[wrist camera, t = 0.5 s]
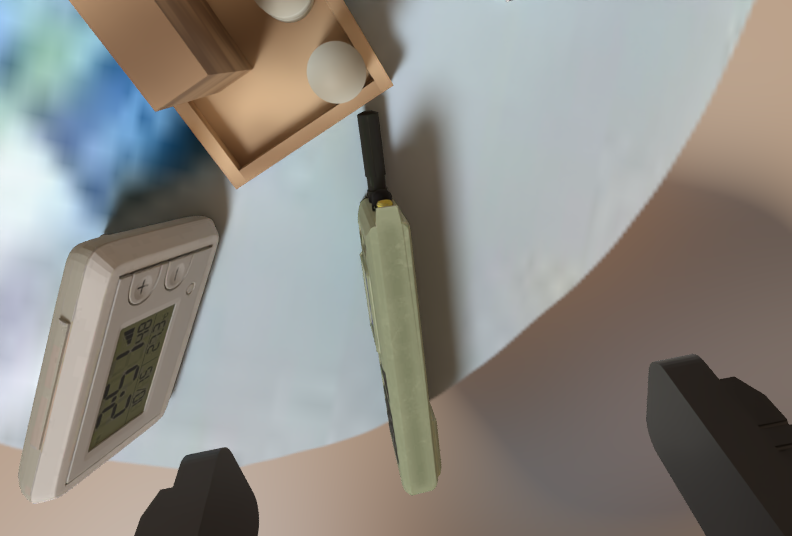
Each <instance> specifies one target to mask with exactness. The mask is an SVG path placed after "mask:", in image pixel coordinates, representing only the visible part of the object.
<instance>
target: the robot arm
mask: <svg viewBox="0 0 792 536" xmlns="http://www.w3.org/2000/svg"><path fill="white" fill-rule="evenodd" d="M646 416H647V417H646V421H647V428H648V432H649V436H650V439H651V442H652V444H653V446H654V449H655V451H656V452H657V454H658V456H659V458H660V459H661V461H662V462H663V464H664V466H665V468H666V469H667V471H668V473H669V474H670V476H671V478H672V479H673V481H674V483H675V484H676V486H677V488H678V490H679V491H680V493H681V494H682V496H683V498H684V500H685V501H686V503H687V505H688V506H689V508H690V510H691V511H692V513H693V515H694V516H695V518H696V520H697V521H698V523H699V525H700V526H701V528H702V530H703V531H704V533H705V535H706V536H792V425H789V424H788V422H787V419H786V418H785V417H784V415H783V414H782V413H781V412H780V411H779V410H778V409H777V408H776V407H775V406H774V405H773V403H772V402H771V401H770V400H769V399H768V398H767V397H766V396H765V395H764V394H762V393H761V392H759V391H757V390H756V389H754V388H752V387H751V386H749V385H747V384H746V383H744V382H743V381H741V380H739V379H737V378H736V377H730V378H725V379H720V380H719V379H718V378H717V376H716V375H715V374H714V373H713V371H712V370H711V369H710V368H709V367H708V365H707V364H706V363H705V362H704V361H703V360H702V359H701V358H700V357H699V356H698V355H695V354H691V355H686V356H681V357H676V358H671V359H666V360H661V361H656V362H652V363H651V364H650V367H649V377H648V396H647V415H646ZM258 529H259V512H258V505H257V501H256V498H255V496H254V493H253V491H252V489H251V488H250V486H249V484H248V482H247V480H246V479H245V476H244V475H243V473H242V471H241V469H240V467H239V465H238V463H237V462H236V460H235V458H234V456H233V454H232V452H231V451H230V450H229V449H228V448H226V447H224V448H219V449H214V450H209V451H204V452H199V453H194V454H189V455H186V456H185V457H184V458H183V460H182V461H181V464H180V467H179V470H178V473H177V476H176V479H175V483H174V486H173V487H172V488H167V489H162V490H160V491H159V493H158V494H157V496H156V497H155V498H154V500H153V501H152V502H151V504H150V505H149V507H148V508H147V509H146V511H145V512H144V514H143V515H142V516H141V518H140V521H139V524H138V527H137V529H136V532H135V535H134V536H258Z"/></svg>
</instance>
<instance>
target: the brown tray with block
mask: <svg viewBox="0 0 792 536" xmlns="http://www.w3.org/2000/svg"><path fill="white" fill-rule="evenodd" d="M69 1H70V2H71V4H72V5H73V6H74V7H75V9H76V10H77V11H78V13H79V14H80V15H81V17H82V18H83V19H84V20H85V22H86V23H87V24H88V26H89V27H90V28H91V29H92V31H93V32H94V33H95V35H96V36H97V37H98V38H99V40H100V41H101V42H102V44H103V45H104V46H105V47H106V49H107V50H108V51H109V53H110V54H111V55H112V56H113V58H114V59H115V60H116V62H117V63H118V64H119V65H120V67H121V68H122V69H123V71H124V72H125V73H126V74H127V76H128V77H129V78H130V80H131V81H132V82H133V83H134V85H135V86H136V87H137V89H138V90H139V91H140V92H141V94H142V95H143V96H144V98H145V99H146V100H147V102H148V103H149V104H150V105H151V107H152V108H153V109H154V111H155V112H156V111H159V110H162V109H166V108H169V107H172V106H173V107H174V108H175V109H176V111H177V112H178V113H179V115H180V116H181V117H182V119H183V120H184V121H185V123H186V124H187V125H188V127H189V128H190V129H191V130H192V132H193V133H194V134H195V136H196V137H197V138H198V140H199V141H200V142H201V144H202V145H203V146H204V148H205V149H206V150H207V151H208V153H209V154H210V155H211V157H212V158H213V159H214V161H215V162H216V163H217V165H218V166H219V167H220V169H221V170H222V171H223V173H224V174H225V175H226V176H227V178H228V179H229V180H230V182H231V183H232V184H233V186H234V187H235V188H236V189H238V188H239V187H241V186H242V185H244V184H245V183H247V182H248V181H250V180H251V179H253V178H254V177H256V176H257V175H259V174H260V173H262V172H263V171H265V170H266V169H268V168H269V167H271V166H272V165H274V164H275V163H277V162H278V161H280V160H281V159H283V158H284V157H286V156H287V155H289V154H290V153H292V152H293V151H295V150H297V149H298V148H300V147H301V146H303V145H304V144H306V143H307V142H309V141H310V140H312V139H313V138H315V137H316V136H318V135H319V134H321V133H322V132H324V131H325V130H327V129H328V128H330V127H331V126H333V125H334V124H336V123H337V122H339V121H340V120H342V119H343V118H345V117H346V116H348V115H349V114H351V113H352V112H354V111H355V110H357V109H358V108H360V107H361V106H363V105H364V104H366V103H367V102H369V101H370V100H372V99H373V98H375V97H377V96H378V95H380V94H381V93H383V92H384V91H386V90H387V89H389V88H390V87H392V86H393V84H392V82H391V80H390V79H389V77H388V75H387V73H386V72H385V70H384V68H383V67H382V65H381V63H380V62H379V60H378V58H377V56H376V55H375V53H374V51H373V50H372V48H371V46H370V45H369V43H368V41H367V40H366V38H365V36H364V34H363V33H362V31H361V29H360V28H359V26H358V24H357V23H356V21H355V19H354V17H353V16H352V14H351V12H350V11H349V9H348V7H347V6H346V4H345V2H344V0H69Z"/></svg>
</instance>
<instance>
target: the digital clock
mask: <svg viewBox="0 0 792 536" xmlns="http://www.w3.org/2000/svg"><path fill="white" fill-rule="evenodd" d="M218 241H219V235H218V233H217V230H216V227H215V225H214V223H213V221H212V219H210V218H207V217H204V216H190V217H184V218H180V219H175V220H171V221H167V222H162V223H158V224H154V225H149V226H145V227H141V228H137V229H132V230H128V231H124V232H119V233H115V234H111V235H107V234H103V235H101V236H100V237H99V238H95V239H91V240H88V241H85V242H83V243H80V244H78V245H77V246H75V247H74V248H73V249H72V250H71V252H70V253H69V256H68V258H67V261H66V265H65V269H64V273H63V277H62V281H61V285H60V289H59V293H58V297H57V301H56V305H55V310H54V314H53V319H52V323H51V327H50V332H49V336H48V341H47V345H46V349H45V354H44V358H43V363H42V367H41V372H40V376H39V380H38V385H37V389H36V394H35V398H34V402H33V407H32V411H31V416H30V420H29V424H28V429H27V433H26V438H25V442H24V447H23V452H22V457H21V461H20V466H19V473H18V478H19V485H20V489H21V491H22V493H23V495H24V496H25V497H26V498H27V500H29V501H30V502H32V503H33V504H36V503H41V502H45V501H49V500H52V499H56V498H58V497H60V496H62V495H63V494H65V493H66V492H68V491H69V490H70V489H72V488H73V487H74V486H76V485H77V484H78V483H79V482H81V481H82V480H83V479H85V478H86V477H87V476H89V475H90V474H91V473H92V472H93V471H95V470H96V469H97V468H99V467H100V466H101V465H102V464H104V463H105V462H106V461H108V460H109V459H110V458H112V457H113V456H114V455H115V454H117V453H118V452H119V451H121V450H122V449H123V448H124V447H126V446H127V445H128V444H130V443H131V442H132V441H133V440H135V439H136V438H137V437H139V436H140V435H141V434H142V433H144V432H145V431H146V430H147V429H149V428H150V427H151V426H153V425H154V424H155V423H156V422H157V421H158V420H159V419H160V418H161V417H162V416H163V414H164V412H165V410H166V408H167V405H168V402H169V399H170V396H171V393H172V390H173V387H174V383H175V380H176V377H177V374H178V371H179V367H180V364H181V361H182V358H183V355H184V352H185V348H186V345H187V342H188V339H189V336H190V332H191V329H192V326H193V323H194V320H195V316H196V313H197V310H198V307H199V304H200V301H201V297H202V294H203V291H204V288H205V285H206V281H207V278H208V275H209V272H210V269H211V265H212V262H213V259H214V255H215V252H216V249H217V245H218Z"/></svg>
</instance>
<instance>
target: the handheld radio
mask: <svg viewBox="0 0 792 536" xmlns="http://www.w3.org/2000/svg"><path fill="white" fill-rule="evenodd" d="M357 118H358V125H359V132H360V140H361V147H362V154H363V162H364V169H365V176H366V177H367V183H368V190H367V191H368V199H364V200H362V201H361V202H360V206H359V211H358V223H359V230H360V239H361V246H362V252H361V253H360V257H361V264H362V271H363V277H364V284H365V291H366V298H367V304H368V311H369V318H370V326H371V329H372V333H373V337H374V341H375V345H376V349H377V352H378V354H379V361H380V367H381V374H382V380H383V387H384V394H385V401H386V407H387V415H388V420H389V427H390V432H391V437H392V442H393V446H394V450H395V455H396V459H397V464H398V468H399V472H400V477H401V481H402V485H403V487H404V489H405V491H406V492H407V493H409V494H410V495H415V494H419V493H424V492H427V491H431V490H434V489H435V487H436V485H437V482H438V476H439V475H440V473H441V459H440V449H439V440H438V430H437V421H436V418H435V416H434V413H433V410H432V407H431V405H430V402H429V393H428V384H427V375H426V366H425V357H424V348H423V338H422V329H421V320H420V311H419V302H418V293H417V284H416V275H415V266H414V256H413V247H412V238H411V230H410V224H409V223H408V221H407V220H406V218H405V216H404V215H403V213H402V212H401V210H400V209H399V207H398V205H397V204H396V202H395V201H394V200H393V199H392V196H391V194H390V192H389V191H387V187H386V184H385V176H384V175H385V166H384V158H383V150H382V142H381V134H380V125H379V117H378V112H375V111H364V112H362V113H360V114H358V115H357Z"/></svg>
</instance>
